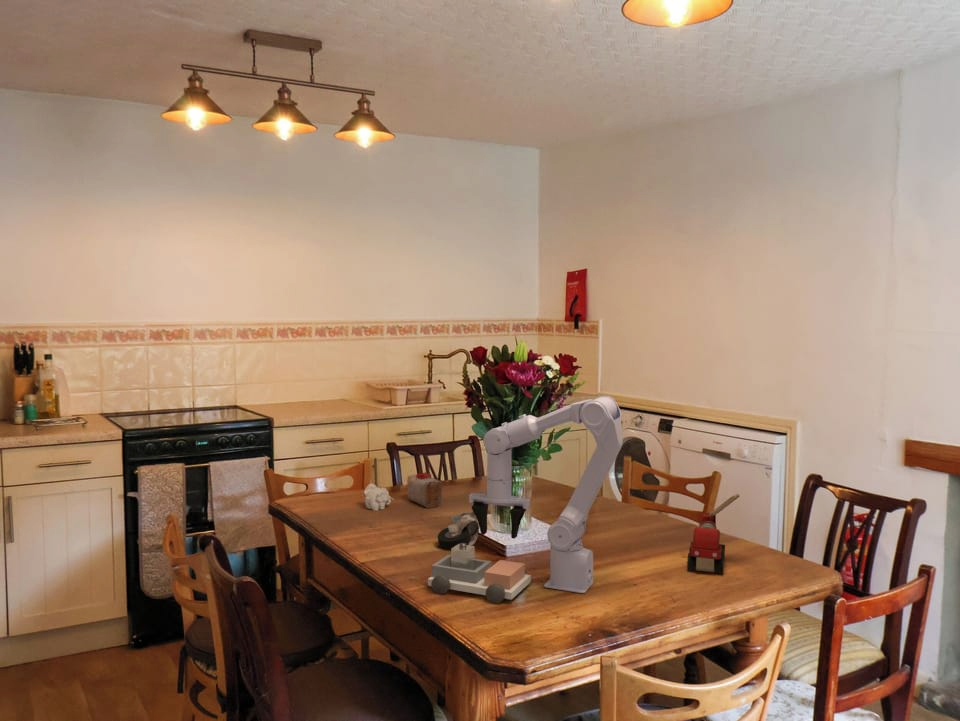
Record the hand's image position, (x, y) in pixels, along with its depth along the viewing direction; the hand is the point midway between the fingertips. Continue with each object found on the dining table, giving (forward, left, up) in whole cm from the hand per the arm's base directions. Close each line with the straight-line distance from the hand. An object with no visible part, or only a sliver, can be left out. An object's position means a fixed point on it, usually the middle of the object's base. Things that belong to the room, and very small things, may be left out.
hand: (498, 535), depth 191 cm
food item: (+46, -52, -10) cm, 70 cm away
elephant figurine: (+56, -40, -10) cm, 70 cm away
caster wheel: (+18, -17, -10) cm, 26 cm away
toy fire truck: (-45, -28, -10) cm, 54 cm away
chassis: (0, +10, -9) cm, 14 cm away
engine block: (+5, +10, -7) cm, 13 cm away
